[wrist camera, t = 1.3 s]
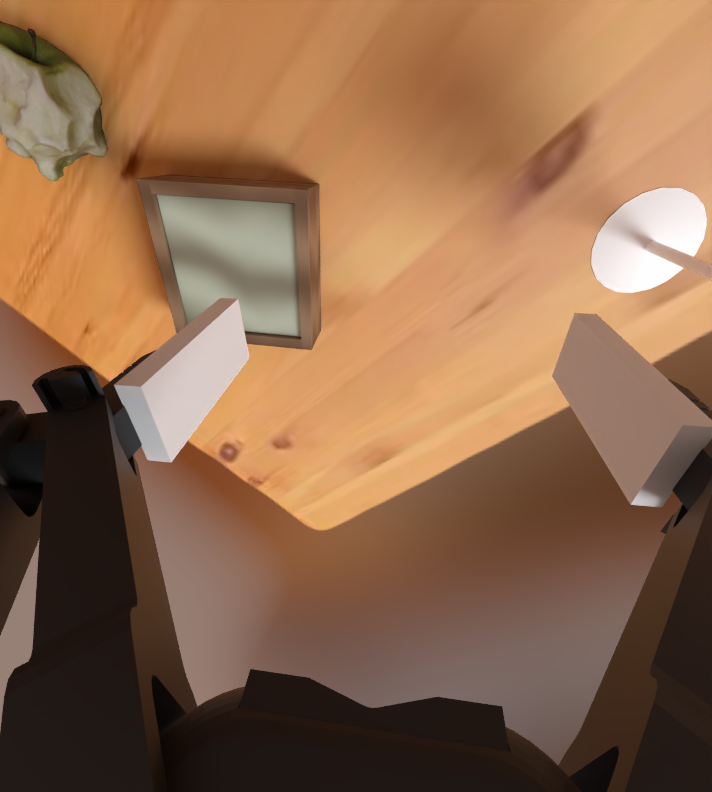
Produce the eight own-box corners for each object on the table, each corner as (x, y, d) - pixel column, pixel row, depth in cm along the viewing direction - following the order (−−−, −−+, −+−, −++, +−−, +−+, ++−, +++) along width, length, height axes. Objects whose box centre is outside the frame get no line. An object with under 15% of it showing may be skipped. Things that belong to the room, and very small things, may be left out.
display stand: (168, 174, 33) (136, 179, 29) (319, 184, 32) (306, 189, 28) (199, 318, 41) (177, 336, 37) (321, 329, 40) (311, 349, 36)
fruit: (73, 14, 29) (4, -17, 22) (146, 150, 34) (107, 156, 28) (-26, 58, 30) (-119, 39, 23) (61, 183, 35) (4, 196, 29)
